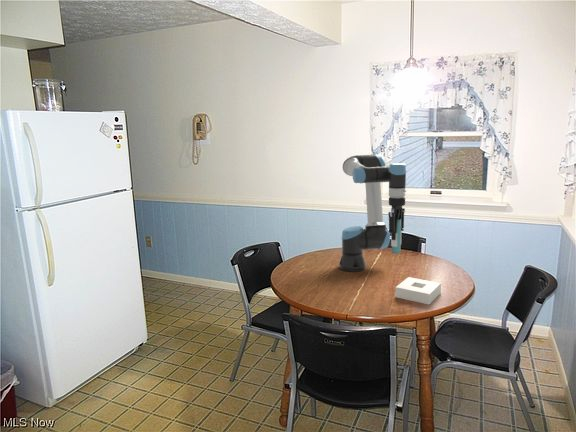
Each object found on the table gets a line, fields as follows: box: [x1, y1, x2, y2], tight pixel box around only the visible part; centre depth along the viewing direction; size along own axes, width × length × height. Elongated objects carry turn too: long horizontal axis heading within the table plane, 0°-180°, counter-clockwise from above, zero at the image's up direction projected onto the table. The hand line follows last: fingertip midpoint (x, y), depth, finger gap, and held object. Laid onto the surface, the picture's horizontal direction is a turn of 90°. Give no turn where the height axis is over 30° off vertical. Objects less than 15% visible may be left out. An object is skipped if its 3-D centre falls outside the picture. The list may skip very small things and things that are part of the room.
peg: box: [391, 219, 402, 255], centre depth 202 cm, size 4×4×16 cm
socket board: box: [394, 276, 442, 305], centre depth 201 cm, size 16×16×5 cm
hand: (396, 245), depth 203 cm, fingers closed on peg, 4 cm apart
